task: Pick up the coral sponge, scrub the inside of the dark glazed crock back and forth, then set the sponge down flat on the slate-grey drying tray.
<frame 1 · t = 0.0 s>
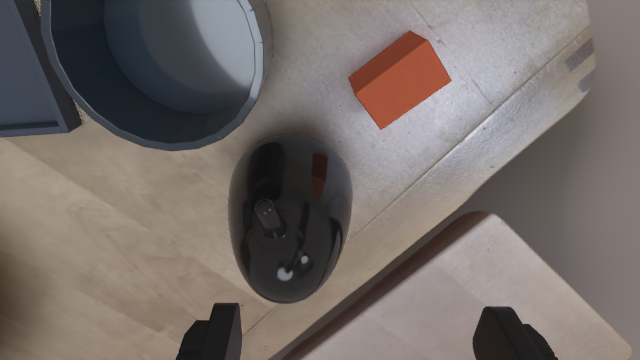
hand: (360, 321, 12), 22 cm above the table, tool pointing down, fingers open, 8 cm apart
sponge: (389, 71, 30), on the table
pump dispenser: (293, 168, 35), on the table
crock: (188, 36, 29), on the table
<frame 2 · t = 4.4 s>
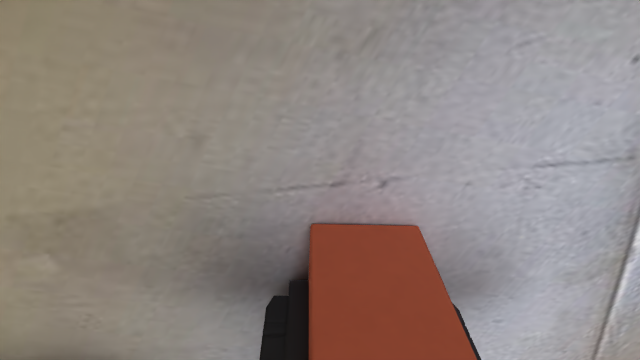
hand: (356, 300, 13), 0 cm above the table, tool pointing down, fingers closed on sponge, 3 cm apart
sponge: (356, 292, 13), on the table, touching gripper
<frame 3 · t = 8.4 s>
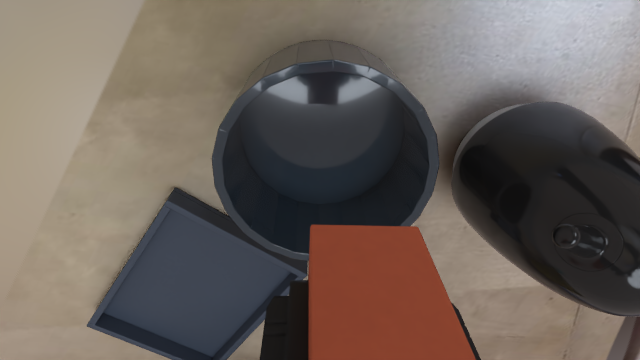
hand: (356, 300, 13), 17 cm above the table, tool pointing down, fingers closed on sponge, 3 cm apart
sponge: (356, 292, 13), point 16 cm above the table, touching gripper
pump dispenser: (498, 149, 29), on the table
crock: (322, 132, 28), on the table
drying tray: (198, 285, 35), on the table
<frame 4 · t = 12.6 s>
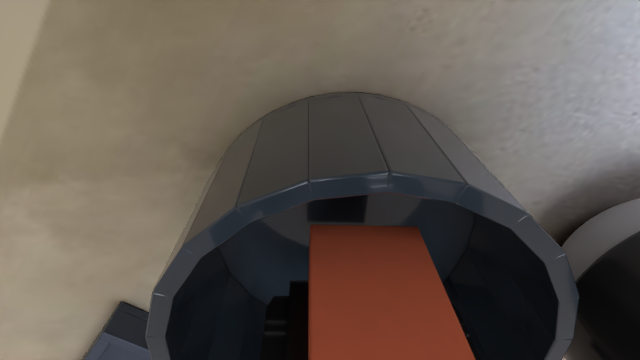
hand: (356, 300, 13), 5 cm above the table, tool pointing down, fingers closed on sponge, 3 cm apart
sponge: (356, 292, 13), point 5 cm above the table, touching gripper
pump dispenser: (610, 245, 19), on the table
crock: (343, 226, 18), on the table
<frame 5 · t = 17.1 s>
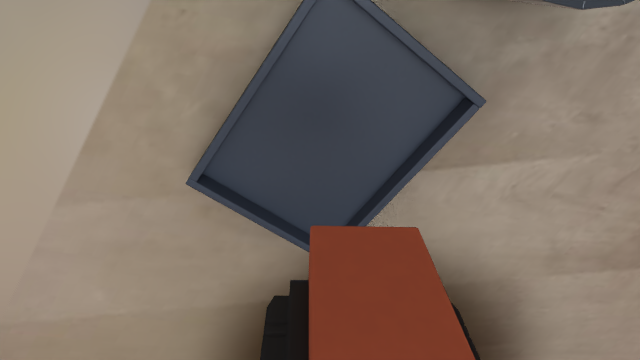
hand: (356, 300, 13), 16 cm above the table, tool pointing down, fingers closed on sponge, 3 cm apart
sponge: (356, 293, 13), point 16 cm above the table, touching gripper
drying tray: (327, 133, 27), on the table
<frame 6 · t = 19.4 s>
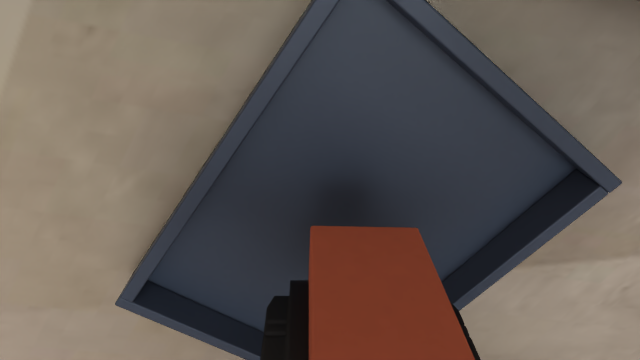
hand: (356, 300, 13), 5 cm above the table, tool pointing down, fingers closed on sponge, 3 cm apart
sponge: (356, 293, 13), point 4 cm above the table, touching gripper
drying tray: (344, 220, 17), on the table
when the fingers open (1 cm above the table, at t = 20.8 s): sponge stays where it is, resting on drying tray.
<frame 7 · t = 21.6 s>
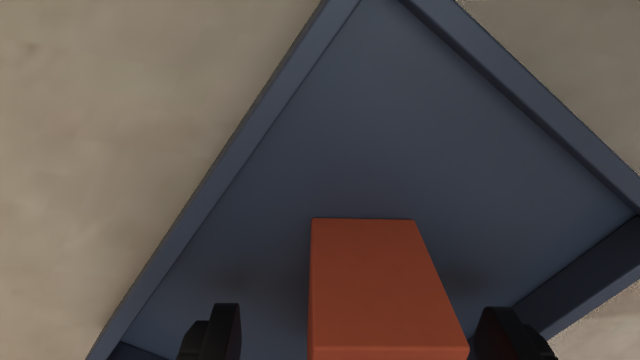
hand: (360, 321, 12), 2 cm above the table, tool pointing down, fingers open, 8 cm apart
sponge: (355, 283, 14), resting on drying tray
drying tray: (352, 272, 14), on the table
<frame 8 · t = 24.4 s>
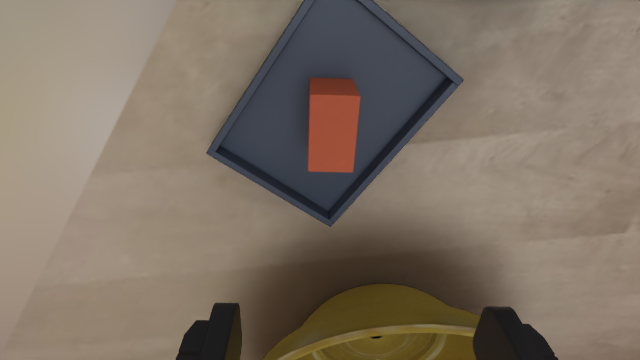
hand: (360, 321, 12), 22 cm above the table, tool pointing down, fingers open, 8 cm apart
sponge: (329, 113, 31), resting on drying tray
planter bowl: (373, 325, 45), on the table
drying tray: (328, 110, 31), on the table
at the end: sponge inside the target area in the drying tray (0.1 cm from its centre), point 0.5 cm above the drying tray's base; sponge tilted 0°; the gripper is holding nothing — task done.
